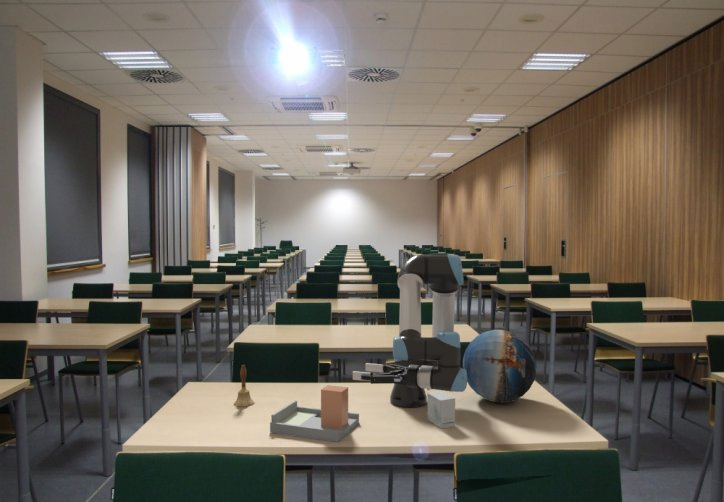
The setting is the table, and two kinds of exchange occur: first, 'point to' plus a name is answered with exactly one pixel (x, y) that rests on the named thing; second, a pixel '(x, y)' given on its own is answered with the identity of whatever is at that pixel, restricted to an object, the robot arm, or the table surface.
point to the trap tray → (308, 423)
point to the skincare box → (441, 409)
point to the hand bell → (243, 391)
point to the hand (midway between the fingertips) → (359, 371)
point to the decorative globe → (499, 366)
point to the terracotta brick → (334, 406)
